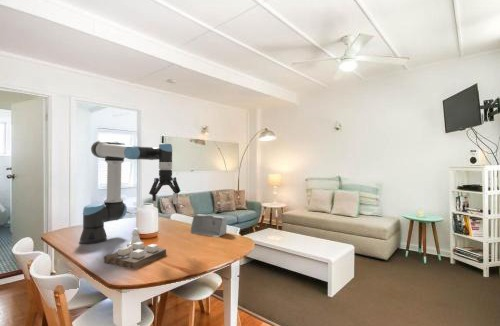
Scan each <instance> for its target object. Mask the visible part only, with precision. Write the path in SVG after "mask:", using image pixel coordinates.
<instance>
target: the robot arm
mask: <svg viewBox="0 0 500 326" xmlns="http://www.w3.org/2000/svg"><path fill="white" fill-rule="evenodd" d="M90 151H91V153H92V155H93V156H95V157H96V158H100V159H104V162H106V164H107V167H106V168H107V170H106V171H107V174H106V199H105V200H104V202H97V203H96V202H95V203H90V204H87V205H85V206H83V210H82V216H83V217H82V232H81V234H80V237H79V243H80V244H85V245H87V244H88V245H90V244H97V243H102V242H106V241H107V239H108V236H107V232H106V229H105V225H104V224H105V223H108V222H113V221H119V220H122V219H123V218H124V217H125V216H126V215H127V212H128V211H127V210H128V208H127V205H126V203H125V202H124V199H122V164H123V163H124V162H125V159H127V160H145V161H146V160H149V161H156V160H157V161H158V169H159V170H158V176H159V177H155V178H153V179H154V180H153V183H152V186H151V188H150V190H149V192H148V194H149V195H150V196H152V201H153V207H156V208H158V193H159V191H160V190H161V189H162V187H163V186H169V188H170V189H171V190H172V192H173V193H172V204H173V205H178V204H177V203H178V200H177V199H178V197H179V196H178V194H179V193H180V192H181V188H180V187H179V184H178V181H177V177H175V176H173V170H172V169H173V146H172V144H171V143H164V142H163V143H159V144H158V147H154V146H153V147H151V146H137V145H126V144H125V143H124V142H121V141H113V140H98V141H95V142H93V143H92V144H91V148H90Z"/></svg>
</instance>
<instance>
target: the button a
mask: <svg viewBox="0 0 500 326" xmlns="http://www.w3.org/2000/svg"><path fill="white" fill-rule="evenodd" d="M117 252H118V255H122V256H123V255H127V254H129V253H130V248H129V247H127V246H122V247H119V248H117Z"/></svg>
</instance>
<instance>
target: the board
mask: <svg viewBox="0 0 500 326" xmlns="http://www.w3.org/2000/svg"><path fill="white" fill-rule="evenodd" d="M147 246H148V245H144V248H143V249H140V250H144V256H143V257H141V258H139V259H138V258H133V257H132V251H135V249H133V247H130V253H129V254H127V255H123V256H122V255H118V251H117V252H114V253H110V254H108V255H105V256H104V257H103V261H104V262H103V263H104V264H110V265H114V266H119V267H123V268H127V269H133V270H134V269H137V268H139V267H142V266H144V265H146V264H148V263H151V262H153V261H155V260H158V259H159V258H162V257H163V256H164V257H165V256H166V255H167V249H166V248H161V247H158V251H155V252H153V253H152V252H147Z"/></svg>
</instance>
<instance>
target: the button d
mask: <svg viewBox="0 0 500 326" xmlns="http://www.w3.org/2000/svg"><path fill="white" fill-rule="evenodd" d="M146 246H147V252H152V253H153V252H155V251H158V248H159V245H158V244H156V243H151V244H148V245H146Z"/></svg>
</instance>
